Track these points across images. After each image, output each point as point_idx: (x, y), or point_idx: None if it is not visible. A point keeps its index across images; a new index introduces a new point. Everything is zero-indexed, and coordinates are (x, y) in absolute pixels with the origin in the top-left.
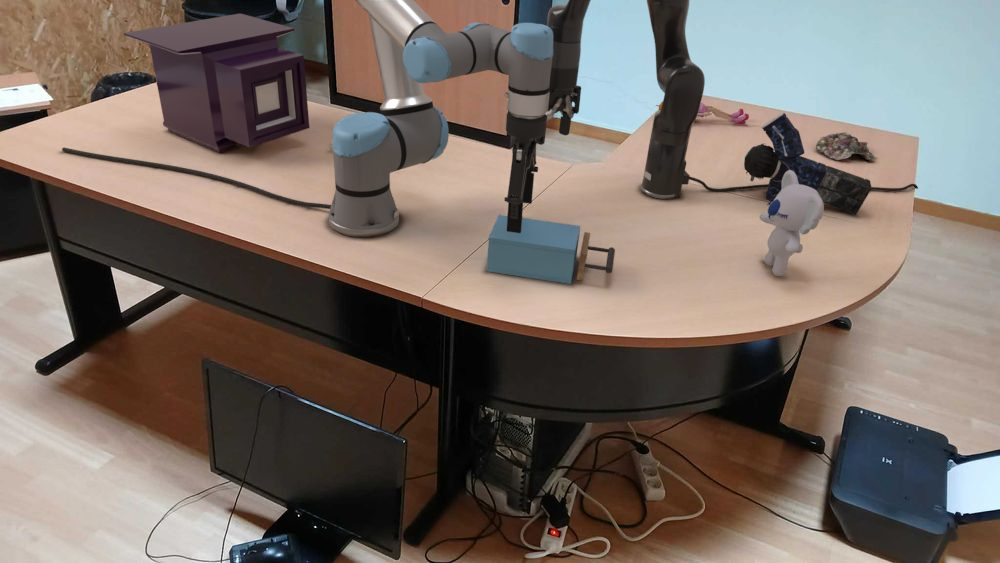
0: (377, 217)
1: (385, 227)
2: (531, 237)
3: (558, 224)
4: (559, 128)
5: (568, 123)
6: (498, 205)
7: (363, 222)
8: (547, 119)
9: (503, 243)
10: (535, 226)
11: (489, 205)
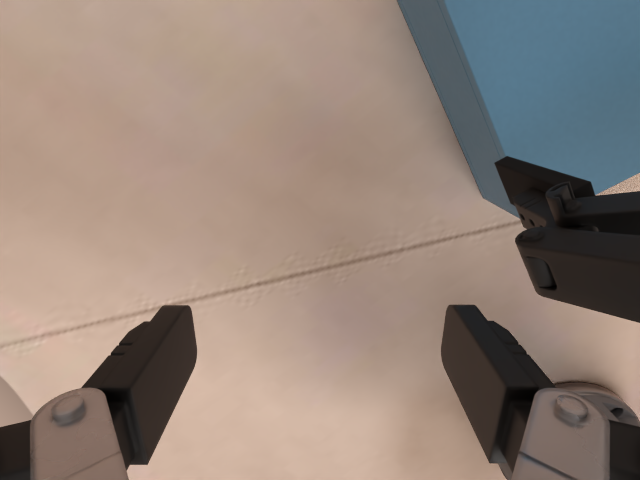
0: (616, 419)
1: (589, 392)
2: (623, 39)
3: (474, 34)
4: (186, 381)
5: (149, 359)
6: (306, 326)
7: (636, 422)
8: (559, 459)
9: None
10: (539, 86)
11: (322, 338)
